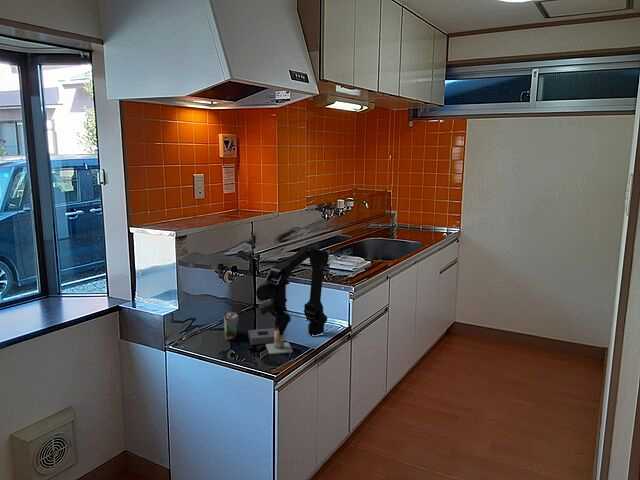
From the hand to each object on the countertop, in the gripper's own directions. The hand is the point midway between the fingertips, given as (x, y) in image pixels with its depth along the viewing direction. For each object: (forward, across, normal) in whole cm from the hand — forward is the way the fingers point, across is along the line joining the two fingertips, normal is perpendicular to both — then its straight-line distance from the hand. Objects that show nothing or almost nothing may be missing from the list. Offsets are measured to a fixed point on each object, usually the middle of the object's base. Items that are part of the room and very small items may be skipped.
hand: (278, 331), depth 211 cm
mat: (+8, 0, 0) cm, 8 cm away
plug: (+7, 0, 0) cm, 7 cm away
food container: (+8, -19, -18) cm, 27 cm away
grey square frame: (+8, -12, -5) cm, 15 cm away
